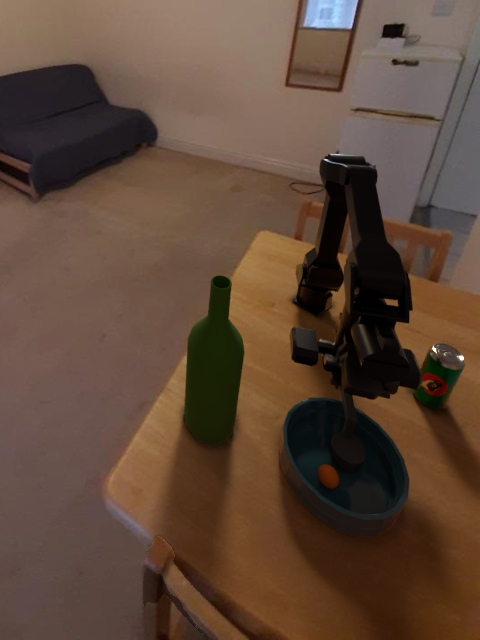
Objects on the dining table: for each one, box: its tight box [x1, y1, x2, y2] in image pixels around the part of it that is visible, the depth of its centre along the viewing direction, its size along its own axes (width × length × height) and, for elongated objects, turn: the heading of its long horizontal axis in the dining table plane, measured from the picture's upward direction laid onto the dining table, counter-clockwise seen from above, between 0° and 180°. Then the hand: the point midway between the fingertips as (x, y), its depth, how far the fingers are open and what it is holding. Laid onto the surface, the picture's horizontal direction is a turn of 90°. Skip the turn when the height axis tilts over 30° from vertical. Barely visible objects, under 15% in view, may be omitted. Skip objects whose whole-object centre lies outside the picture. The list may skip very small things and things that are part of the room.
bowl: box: [278, 396, 410, 538], centre depth 64 cm, size 17×17×6 cm
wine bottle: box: [183, 274, 245, 446], centre depth 66 cm, size 9×9×32 cm
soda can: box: [412, 342, 466, 410], centre depth 72 cm, size 5×5×12 cm
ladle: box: [329, 373, 366, 472], centre depth 68 cm, size 16×5×7 cm, turn 162°
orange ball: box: [317, 464, 339, 489], centre depth 62 cm, size 3×3×3 cm
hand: (341, 388), depth 71 cm, fingers closed on ladle
